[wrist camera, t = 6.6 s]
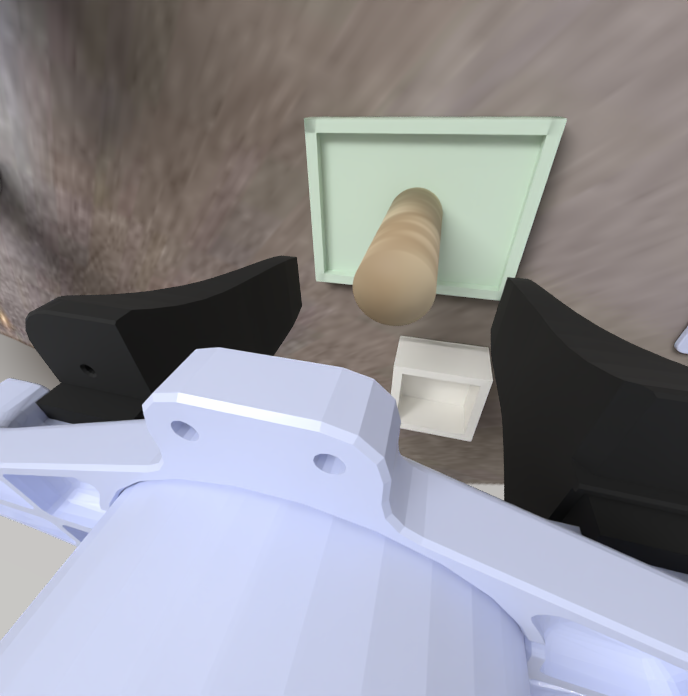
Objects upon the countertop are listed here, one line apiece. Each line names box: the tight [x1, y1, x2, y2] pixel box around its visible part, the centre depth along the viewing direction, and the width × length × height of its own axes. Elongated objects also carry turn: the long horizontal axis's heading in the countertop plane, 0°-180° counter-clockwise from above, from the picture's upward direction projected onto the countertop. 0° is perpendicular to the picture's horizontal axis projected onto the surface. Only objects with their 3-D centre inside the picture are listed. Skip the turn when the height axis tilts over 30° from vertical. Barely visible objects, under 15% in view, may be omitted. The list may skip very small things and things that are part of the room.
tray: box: [304, 117, 567, 301], centre depth 19 cm, size 12×9×1 cm
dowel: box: [353, 187, 443, 326], centre depth 15 cm, size 3×3×9 cm
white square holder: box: [391, 336, 493, 442], centre depth 25 cm, size 6×6×4 cm
